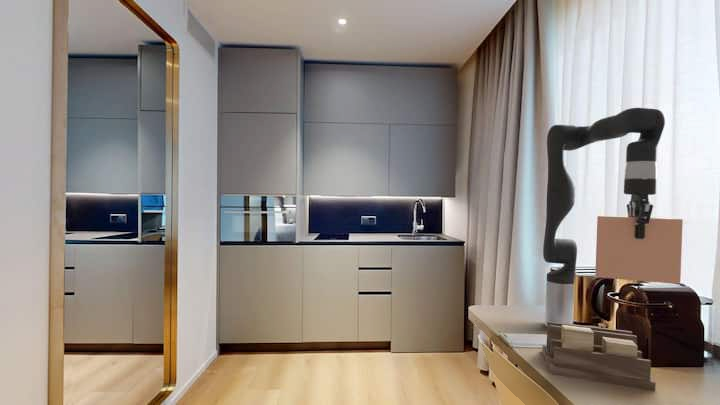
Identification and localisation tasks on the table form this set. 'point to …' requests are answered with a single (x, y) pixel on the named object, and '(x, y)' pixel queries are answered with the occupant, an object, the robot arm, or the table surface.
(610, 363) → the walnut rack
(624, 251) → the terracotta board
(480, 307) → the table surface
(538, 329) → the table surface
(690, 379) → the table surface
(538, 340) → the baseboard molding
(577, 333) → the offcut stack
